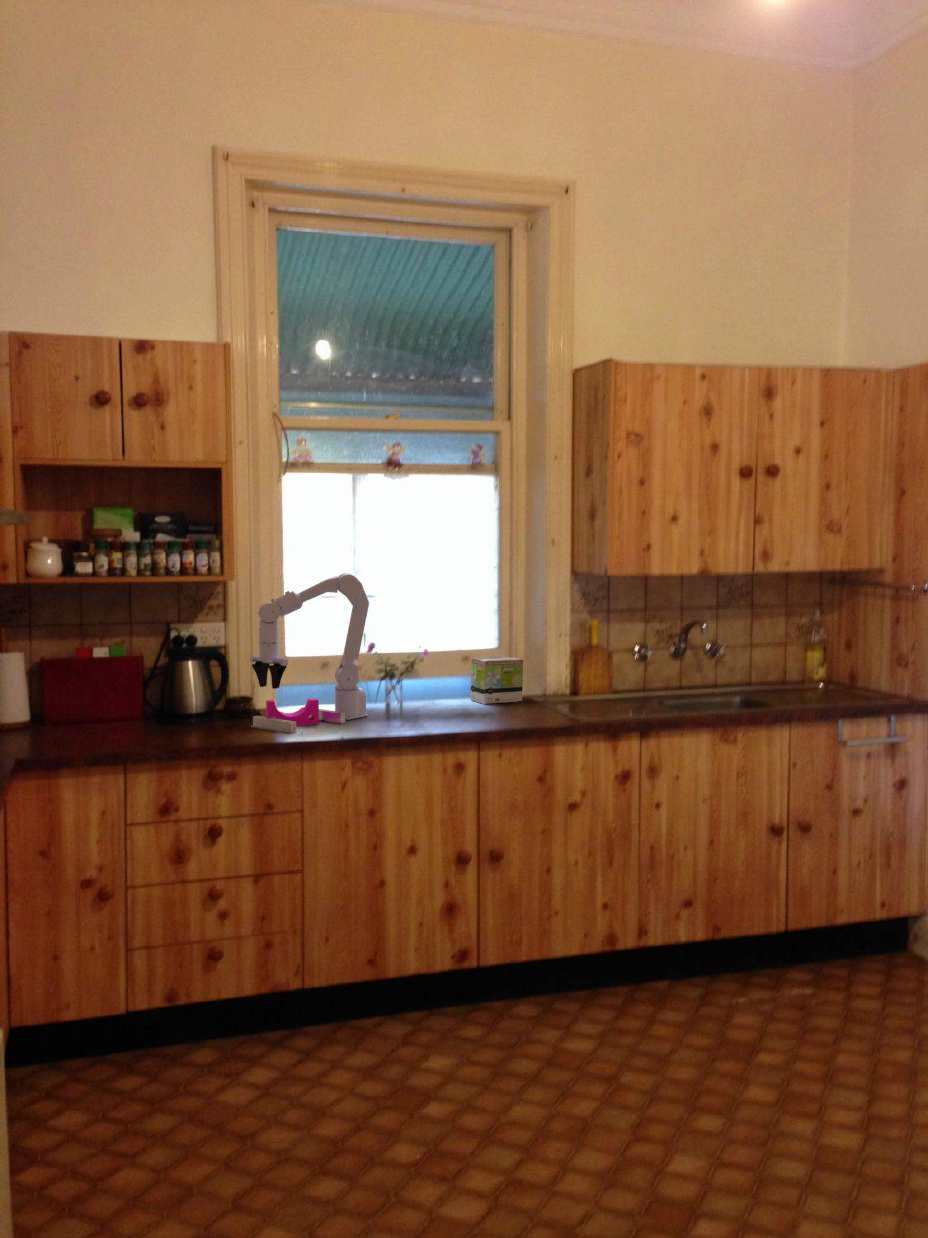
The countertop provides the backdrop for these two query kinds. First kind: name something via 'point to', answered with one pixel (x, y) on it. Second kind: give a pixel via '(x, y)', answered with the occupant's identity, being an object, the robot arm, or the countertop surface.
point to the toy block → (299, 716)
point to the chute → (290, 726)
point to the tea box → (496, 680)
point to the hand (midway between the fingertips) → (269, 687)
